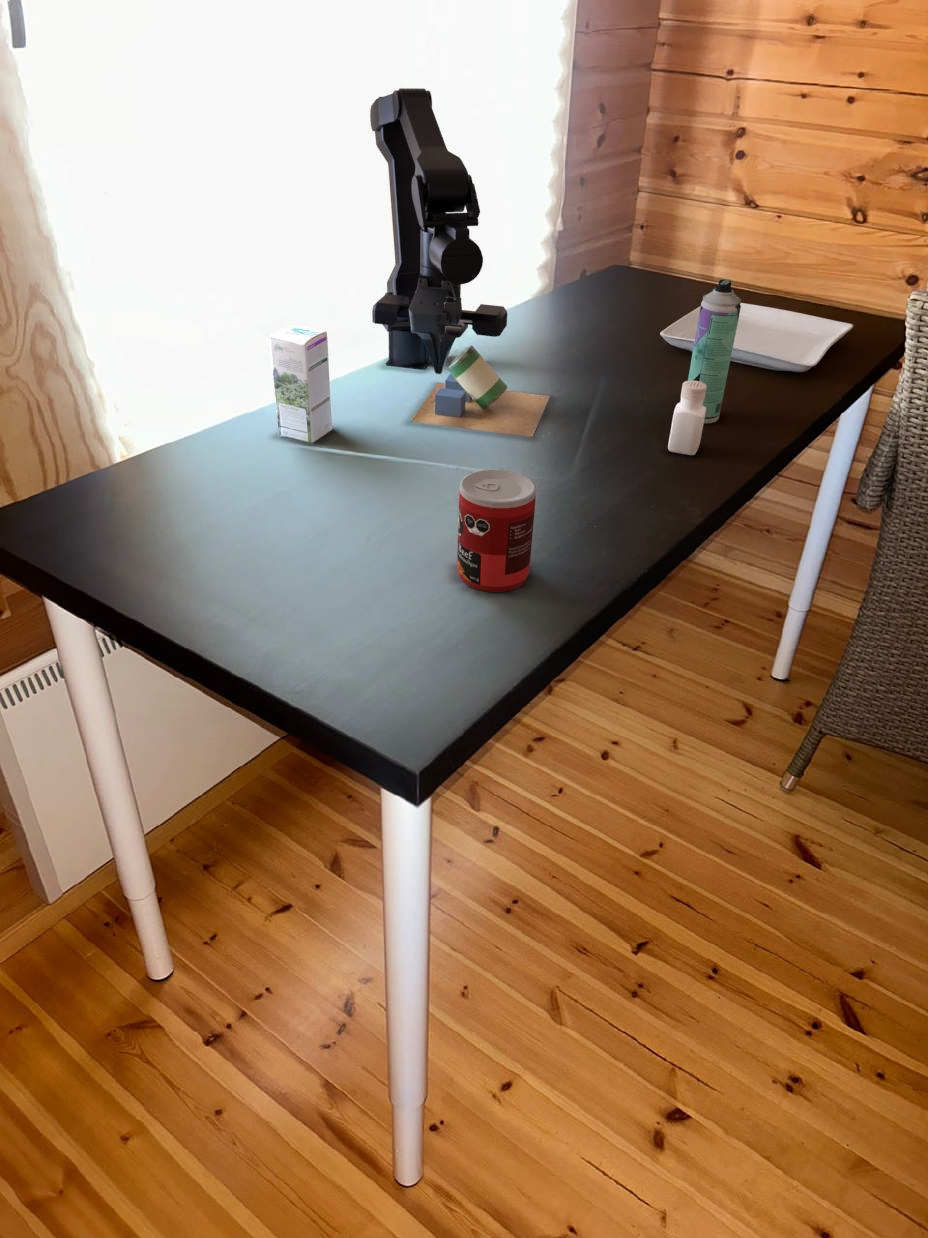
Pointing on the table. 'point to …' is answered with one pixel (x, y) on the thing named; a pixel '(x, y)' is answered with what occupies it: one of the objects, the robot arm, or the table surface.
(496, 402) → the cork mat
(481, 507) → the canned food
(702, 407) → the pepper shaker
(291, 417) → the syrup box
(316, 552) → the table surface
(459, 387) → the blue blocks
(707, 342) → the spray can
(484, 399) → the green tin
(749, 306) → the square plate
